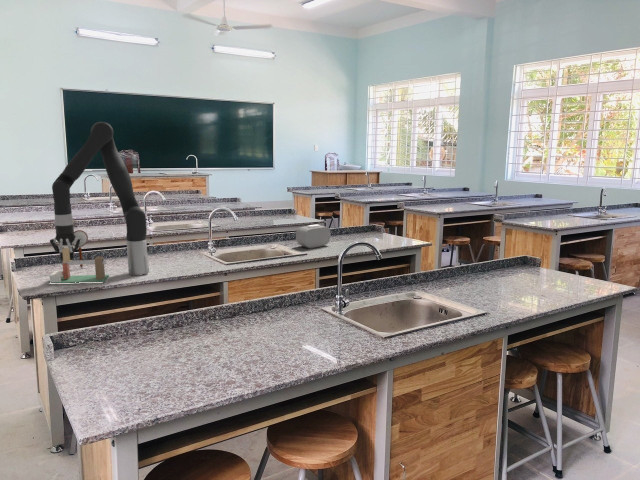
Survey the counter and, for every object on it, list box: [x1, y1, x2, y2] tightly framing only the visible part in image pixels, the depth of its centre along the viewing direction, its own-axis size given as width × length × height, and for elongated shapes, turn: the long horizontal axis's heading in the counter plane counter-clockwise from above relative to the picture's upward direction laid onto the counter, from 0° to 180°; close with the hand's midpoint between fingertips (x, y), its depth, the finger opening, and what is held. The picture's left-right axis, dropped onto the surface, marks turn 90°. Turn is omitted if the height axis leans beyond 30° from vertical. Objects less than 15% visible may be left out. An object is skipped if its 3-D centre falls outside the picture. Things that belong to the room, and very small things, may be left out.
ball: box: [55, 270, 64, 279], centre depth 240 cm, size 4×4×4 cm
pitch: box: [49, 255, 110, 283], centre depth 241 cm, size 24×11×11 cm, turn 99°
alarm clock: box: [295, 224, 332, 249], centre depth 319 cm, size 21×10×13 cm, turn 130°
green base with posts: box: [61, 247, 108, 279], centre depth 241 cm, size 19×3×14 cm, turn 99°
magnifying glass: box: [73, 229, 89, 269], centre depth 261 cm, size 9×2×20 cm, turn 137°
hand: (67, 259), depth 239 cm, fingers closed on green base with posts, 3 cm apart
